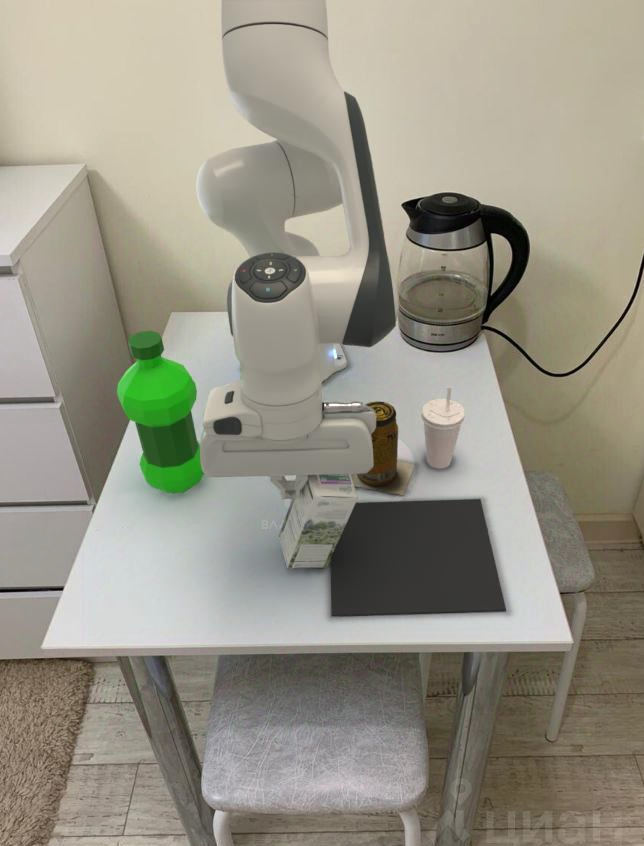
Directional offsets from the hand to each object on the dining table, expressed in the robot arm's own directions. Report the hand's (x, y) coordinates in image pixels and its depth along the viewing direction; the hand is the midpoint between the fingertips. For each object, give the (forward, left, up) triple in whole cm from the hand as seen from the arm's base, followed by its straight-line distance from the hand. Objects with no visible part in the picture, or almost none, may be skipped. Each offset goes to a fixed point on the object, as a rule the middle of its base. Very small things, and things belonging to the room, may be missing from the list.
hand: (291, 495), depth 90 cm
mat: (-1, +15, -12) cm, 20 cm away
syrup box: (-1, 0, -12) cm, 12 cm away
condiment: (-17, +12, -13) cm, 24 cm away
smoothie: (-20, +21, -13) cm, 32 cm away
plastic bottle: (-17, -19, -13) cm, 28 cm away
